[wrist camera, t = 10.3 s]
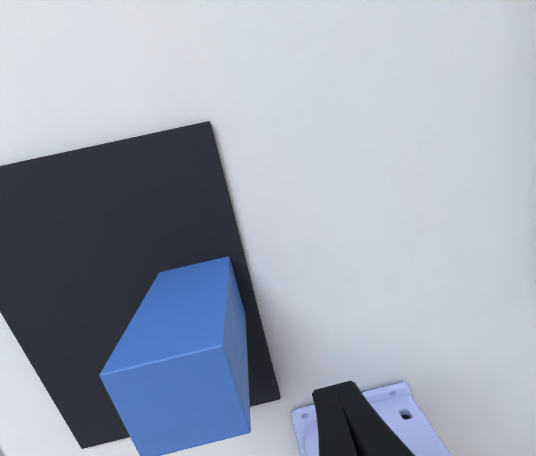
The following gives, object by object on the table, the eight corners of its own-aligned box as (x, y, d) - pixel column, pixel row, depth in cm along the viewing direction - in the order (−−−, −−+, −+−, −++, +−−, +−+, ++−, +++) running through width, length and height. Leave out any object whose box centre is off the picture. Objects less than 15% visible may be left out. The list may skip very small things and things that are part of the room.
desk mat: (210, 121, 16) (209, 121, 15) (279, 394, 22) (280, 399, 21) (-70, 181, 15) (-78, 182, 15) (84, 443, 21) (81, 449, 21)
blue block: (229, 255, 18) (223, 344, 10) (245, 314, 19) (251, 433, 11) (159, 272, 17) (98, 375, 10) (180, 330, 19) (141, 461, 11)
